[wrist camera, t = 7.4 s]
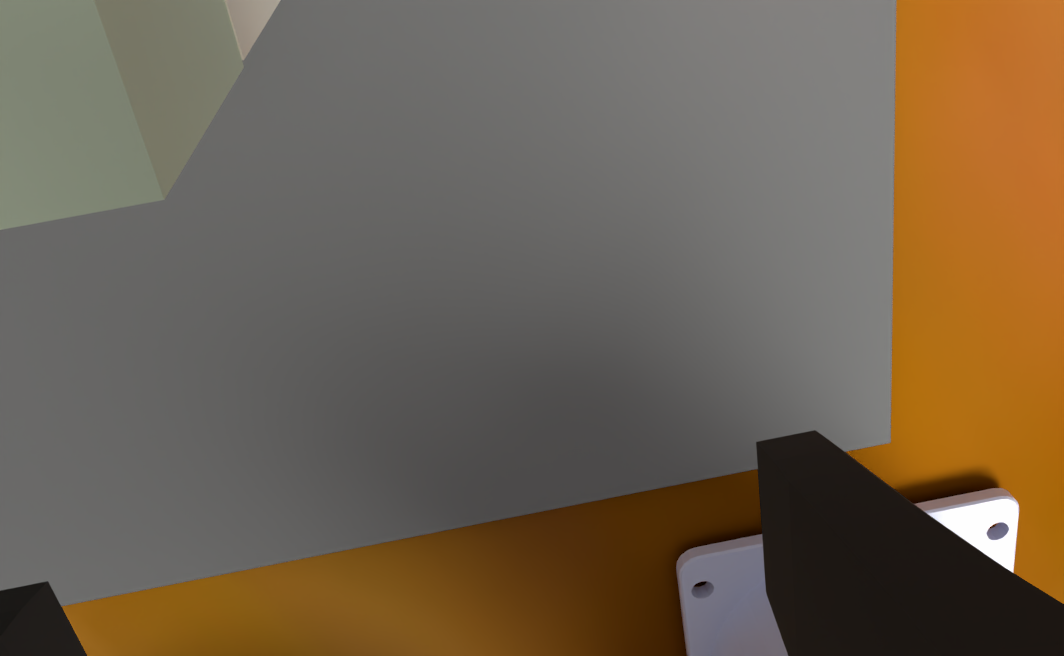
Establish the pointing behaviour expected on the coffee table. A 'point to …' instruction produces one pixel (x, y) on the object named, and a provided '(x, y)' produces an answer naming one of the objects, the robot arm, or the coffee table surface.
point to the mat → (456, 284)
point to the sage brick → (105, 100)
